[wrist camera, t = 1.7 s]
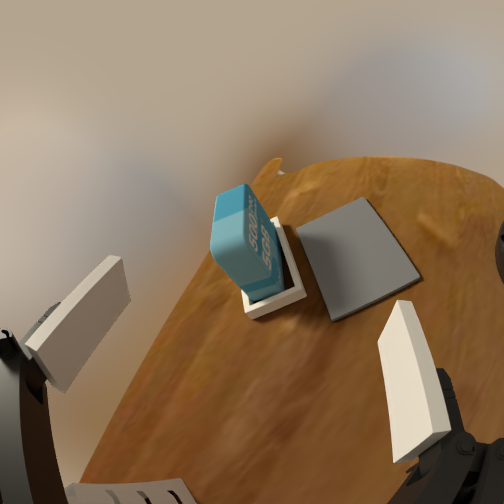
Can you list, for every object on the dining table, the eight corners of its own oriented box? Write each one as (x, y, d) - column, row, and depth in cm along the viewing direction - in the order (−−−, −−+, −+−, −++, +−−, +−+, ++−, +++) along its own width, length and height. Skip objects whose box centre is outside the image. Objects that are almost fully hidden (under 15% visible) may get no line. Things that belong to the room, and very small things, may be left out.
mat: (364, 199, 42) (363, 196, 41) (419, 279, 29) (420, 276, 29) (297, 231, 44) (295, 228, 44) (332, 321, 32) (331, 319, 32)
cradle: (281, 224, 47) (276, 216, 46) (307, 296, 36) (302, 288, 35) (238, 245, 49) (233, 237, 47) (252, 319, 38) (245, 313, 36)
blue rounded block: (285, 297, 38) (244, 241, 30) (255, 305, 39) (207, 254, 31) (279, 234, 46) (245, 178, 38) (254, 243, 47) (216, 191, 39)
